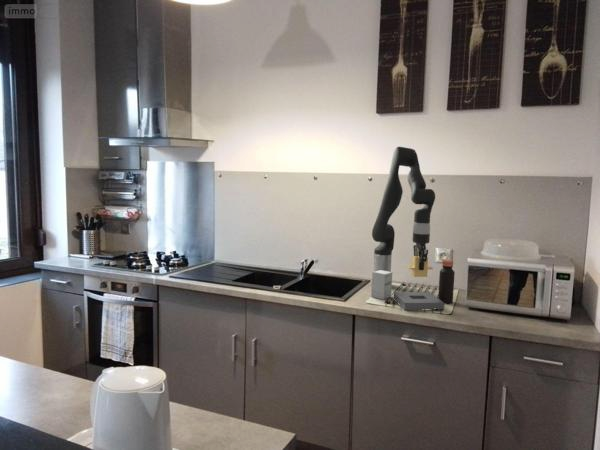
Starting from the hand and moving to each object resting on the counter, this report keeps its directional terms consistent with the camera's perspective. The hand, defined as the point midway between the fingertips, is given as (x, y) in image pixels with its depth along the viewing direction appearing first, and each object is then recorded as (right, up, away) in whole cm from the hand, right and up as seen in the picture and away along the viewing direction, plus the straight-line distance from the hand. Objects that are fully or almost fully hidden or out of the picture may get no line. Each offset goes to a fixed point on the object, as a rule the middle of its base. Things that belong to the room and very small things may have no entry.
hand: (419, 268), depth 218 cm
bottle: (+14, -17, +7) cm, 23 cm away
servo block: (0, -3, 0) cm, 3 cm away
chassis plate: (0, -17, +2) cm, 17 cm away
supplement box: (-15, -15, +14) cm, 26 cm away
